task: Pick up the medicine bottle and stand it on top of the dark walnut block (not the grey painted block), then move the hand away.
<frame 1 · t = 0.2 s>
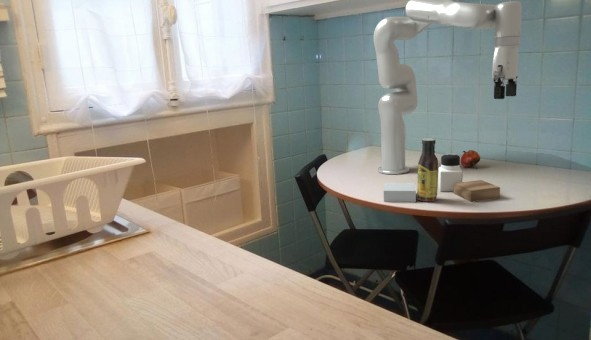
hand: (505, 97, 153), 31 cm above the table, tool pointing down, fingers open, 9 cm apart
walnut block: (476, 197, 153), on the table
sauce bottle: (427, 200, 152), on the table
medicine bottle: (449, 189, 163), on the table
pomegranate: (470, 168, 192), on the table
grey block: (399, 198, 157), on the table
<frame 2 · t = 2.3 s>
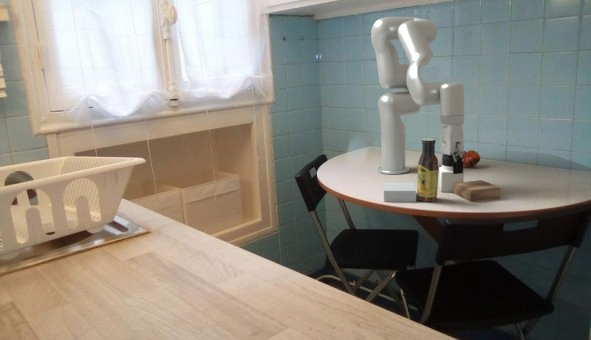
hand: (452, 170, 160), 7 cm above the table, tool pointing down, fingers open, 9 cm apart
nothing on the table moved.
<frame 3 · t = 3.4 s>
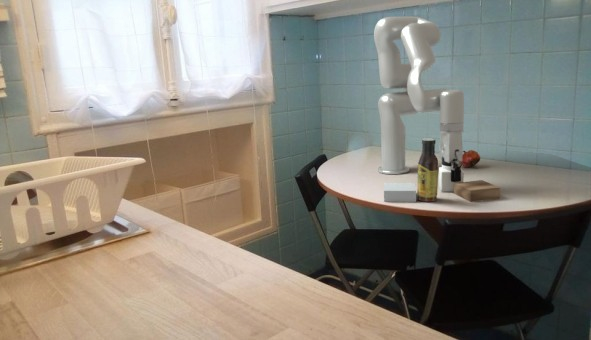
hand: (451, 178, 162), 4 cm above the table, tool pointing down, fingers closed on medicine bottle, 8 cm apart
medicine bottle: (450, 189, 163), on the table, touching gripper
everything else where it was.
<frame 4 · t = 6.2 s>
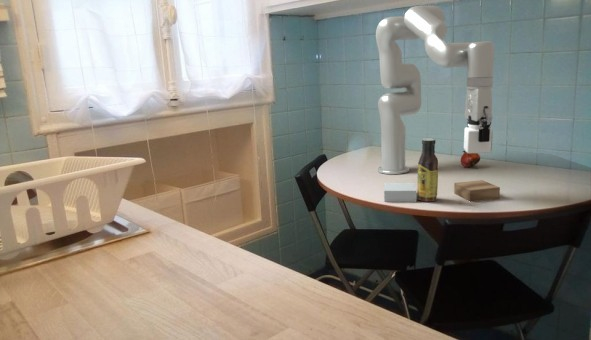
hand: (477, 139, 149), 19 cm above the table, tool pointing down, fingers closed on medicine bottle, 8 cm apart
medicine bottle: (477, 151, 150), point 15 cm above the table, touching gripper
everything else where it was.
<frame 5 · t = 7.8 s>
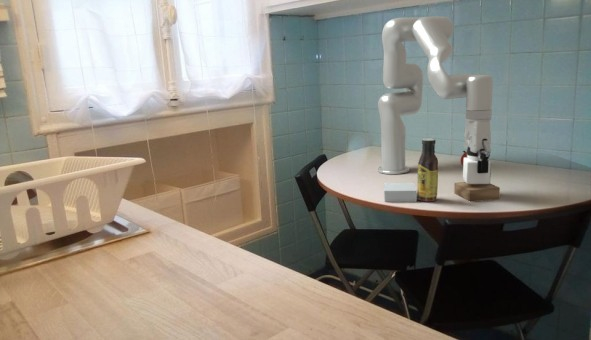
hand: (476, 169, 152), 9 cm above the table, tool pointing down, fingers closed on medicine bottle, 8 cm apart
medicine bottle: (476, 181, 152), point 5 cm above the table, touching gripper
everything else where it was.
when the fingers open (8 cm above the table, at t = 8.9 s): medicine bottle stays where it is, resting on walnut block.
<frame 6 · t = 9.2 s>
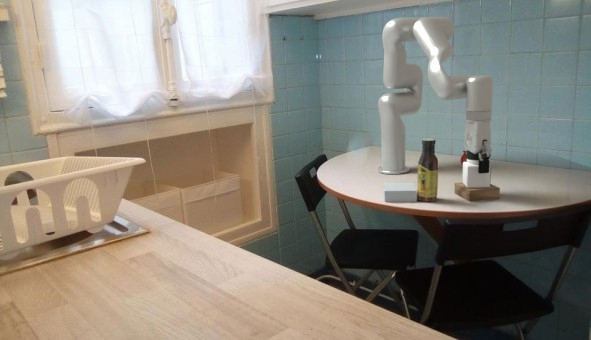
hand: (477, 169, 151), 9 cm above the table, tool pointing down, fingers open, 9 cm apart
walnut block: (476, 197, 153), on the table, touching medicine bottle
medicine bottle: (476, 185, 153), point 3 cm above the table, touching walnut block
everything else where it was.
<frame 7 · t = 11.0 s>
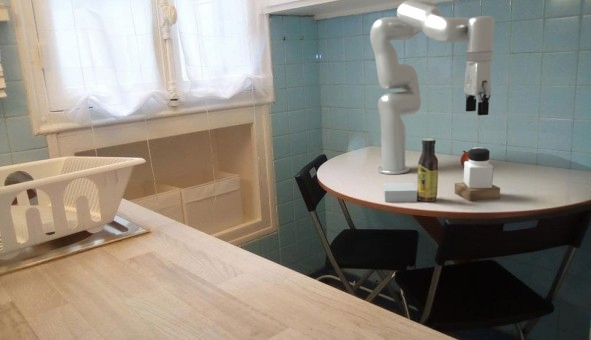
hand: (476, 113, 151), 26 cm above the table, tool pointing down, fingers open, 9 cm apart
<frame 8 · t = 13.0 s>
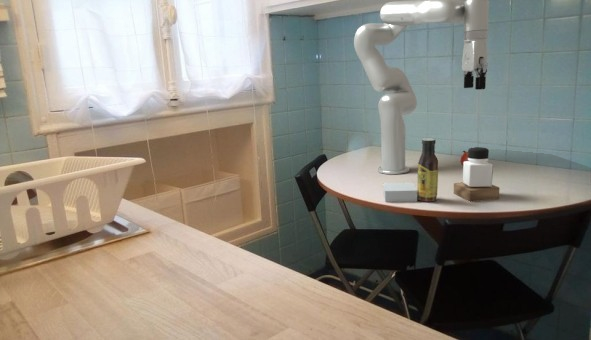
hand: (474, 88, 162), 33 cm above the table, tool pointing down, fingers open, 9 cm apart
walnut block: (475, 197, 153), on the table
medicine bottle: (476, 185, 152), point 4 cm above the table
everything else where it was.
at the end: medicine bottle inside the target area on the walnut block (0.4 cm from its centre), point 4.1 cm above the walnut block's base; medicine bottle tilted 4°; the gripper is holding nothing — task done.
